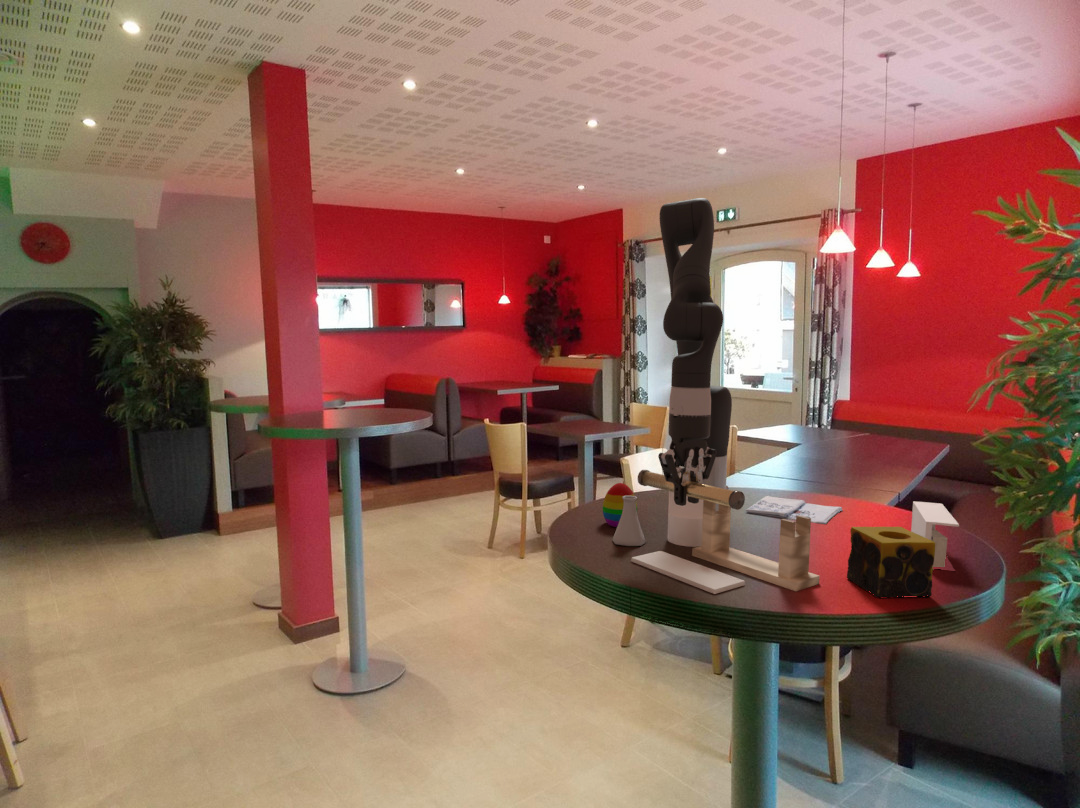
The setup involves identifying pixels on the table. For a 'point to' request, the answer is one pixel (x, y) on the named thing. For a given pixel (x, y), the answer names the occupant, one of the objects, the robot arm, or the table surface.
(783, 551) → the rail stand
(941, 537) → the white angled piece
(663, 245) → the robot arm
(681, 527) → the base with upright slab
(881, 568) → the yellow cube with hole
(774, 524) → the table surface
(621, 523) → the flask
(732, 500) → the brass rail
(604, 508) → the decorative egg
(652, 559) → the grey mat
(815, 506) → the open book
